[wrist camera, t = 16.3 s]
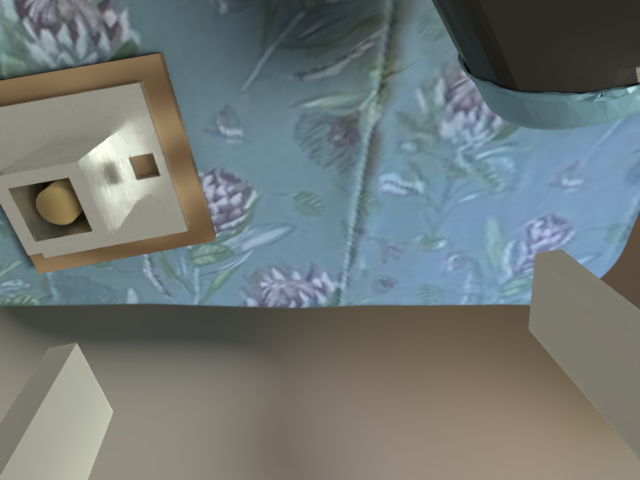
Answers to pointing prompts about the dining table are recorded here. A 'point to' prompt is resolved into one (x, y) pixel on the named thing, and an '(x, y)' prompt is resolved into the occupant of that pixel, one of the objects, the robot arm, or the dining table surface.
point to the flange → (87, 170)
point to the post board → (61, 197)
